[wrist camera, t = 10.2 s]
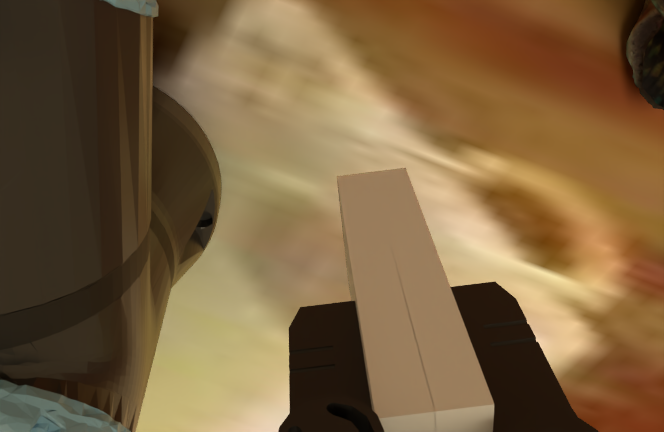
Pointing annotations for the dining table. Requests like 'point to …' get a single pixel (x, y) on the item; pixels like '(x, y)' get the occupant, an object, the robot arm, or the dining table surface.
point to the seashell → (648, 52)
